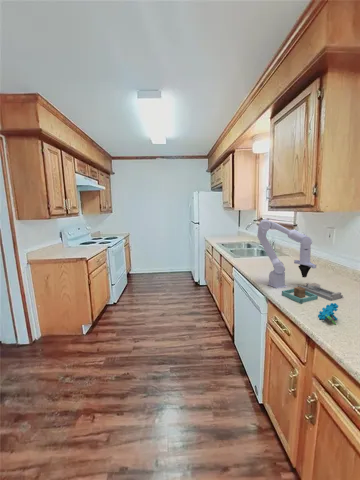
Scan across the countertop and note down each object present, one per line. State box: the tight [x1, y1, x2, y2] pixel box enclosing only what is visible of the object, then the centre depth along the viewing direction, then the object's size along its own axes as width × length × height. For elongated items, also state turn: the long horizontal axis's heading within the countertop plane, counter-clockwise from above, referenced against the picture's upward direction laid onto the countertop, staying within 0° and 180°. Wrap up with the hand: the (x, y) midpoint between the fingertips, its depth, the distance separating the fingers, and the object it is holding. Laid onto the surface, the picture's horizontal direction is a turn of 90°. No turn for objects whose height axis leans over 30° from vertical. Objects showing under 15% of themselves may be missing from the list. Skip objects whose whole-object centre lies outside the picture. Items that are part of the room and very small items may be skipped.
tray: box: [281, 288, 319, 305], centre depth 132 cm, size 14×12×2 cm
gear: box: [317, 302, 339, 325], centre depth 106 cm, size 11×6×10 cm
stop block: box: [293, 286, 306, 299], centre depth 132 cm, size 4×4×5 cm
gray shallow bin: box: [297, 282, 344, 302], centre depth 136 cm, size 22×10×4 cm, turn 20°
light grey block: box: [308, 282, 321, 291], centre depth 139 cm, size 4×5×4 cm
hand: (304, 277), depth 145 cm, fingers closed
